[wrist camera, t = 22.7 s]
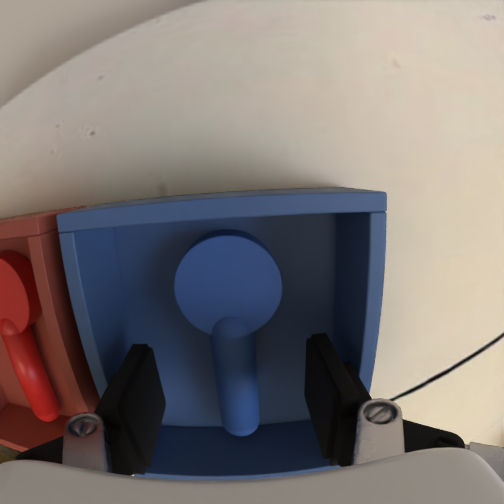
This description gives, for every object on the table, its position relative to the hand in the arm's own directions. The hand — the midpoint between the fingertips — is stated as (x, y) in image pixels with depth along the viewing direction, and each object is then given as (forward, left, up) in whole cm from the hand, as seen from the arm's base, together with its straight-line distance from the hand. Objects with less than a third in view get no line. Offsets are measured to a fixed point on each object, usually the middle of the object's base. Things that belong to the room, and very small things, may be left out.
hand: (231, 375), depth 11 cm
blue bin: (-1, 0, -3) cm, 3 cm away
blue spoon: (0, 0, -2) cm, 2 cm away
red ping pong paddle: (0, -11, -2) cm, 11 cm away
